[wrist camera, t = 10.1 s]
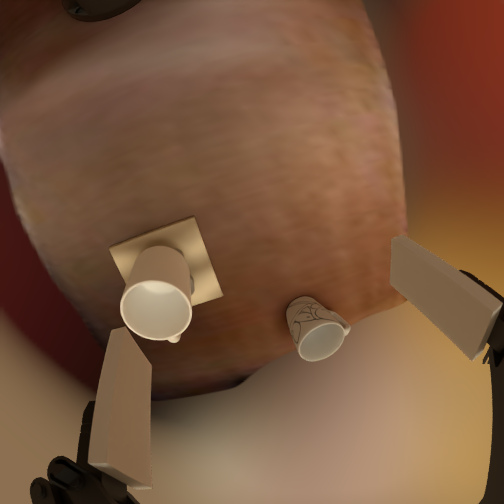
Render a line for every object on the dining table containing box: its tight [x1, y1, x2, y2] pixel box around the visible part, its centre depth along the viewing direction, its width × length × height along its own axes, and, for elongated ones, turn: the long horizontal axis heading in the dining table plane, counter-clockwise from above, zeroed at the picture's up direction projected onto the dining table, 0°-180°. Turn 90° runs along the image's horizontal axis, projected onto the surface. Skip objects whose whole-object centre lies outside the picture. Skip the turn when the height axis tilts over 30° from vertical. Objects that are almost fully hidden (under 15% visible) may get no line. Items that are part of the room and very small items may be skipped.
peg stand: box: [109, 216, 223, 306], centre depth 40 cm, size 14×14×4 cm
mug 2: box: [286, 296, 350, 361], centre depth 47 cm, size 11×8×10 cm
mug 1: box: [120, 246, 192, 343], centre depth 34 cm, size 12×8×10 cm
